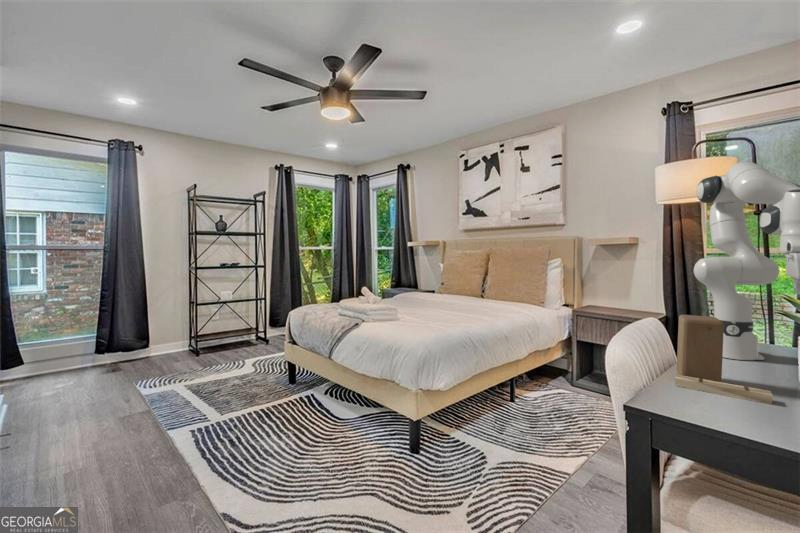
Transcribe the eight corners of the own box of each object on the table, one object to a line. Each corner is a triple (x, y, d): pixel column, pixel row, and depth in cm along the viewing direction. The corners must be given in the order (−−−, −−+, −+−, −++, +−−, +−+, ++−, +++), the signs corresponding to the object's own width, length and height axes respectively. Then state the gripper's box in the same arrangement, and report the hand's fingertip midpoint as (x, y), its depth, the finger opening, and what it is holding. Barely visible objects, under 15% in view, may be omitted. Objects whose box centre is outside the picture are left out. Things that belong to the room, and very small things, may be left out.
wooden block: (722, 386, 112) (724, 321, 111) (681, 380, 117) (683, 318, 116) (713, 377, 120) (716, 316, 119) (676, 371, 125) (678, 313, 124)
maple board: (675, 382, 115) (676, 374, 115) (770, 399, 102) (770, 390, 102) (674, 385, 112) (675, 377, 112) (772, 404, 99) (772, 395, 99)
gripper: (780, 246, 115) (777, 290, 115) (792, 245, 99) (789, 296, 99) (810, 246, 111) (807, 291, 111) (827, 245, 95) (824, 298, 95)
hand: (799, 293), depth 105 cm, fingers closed
